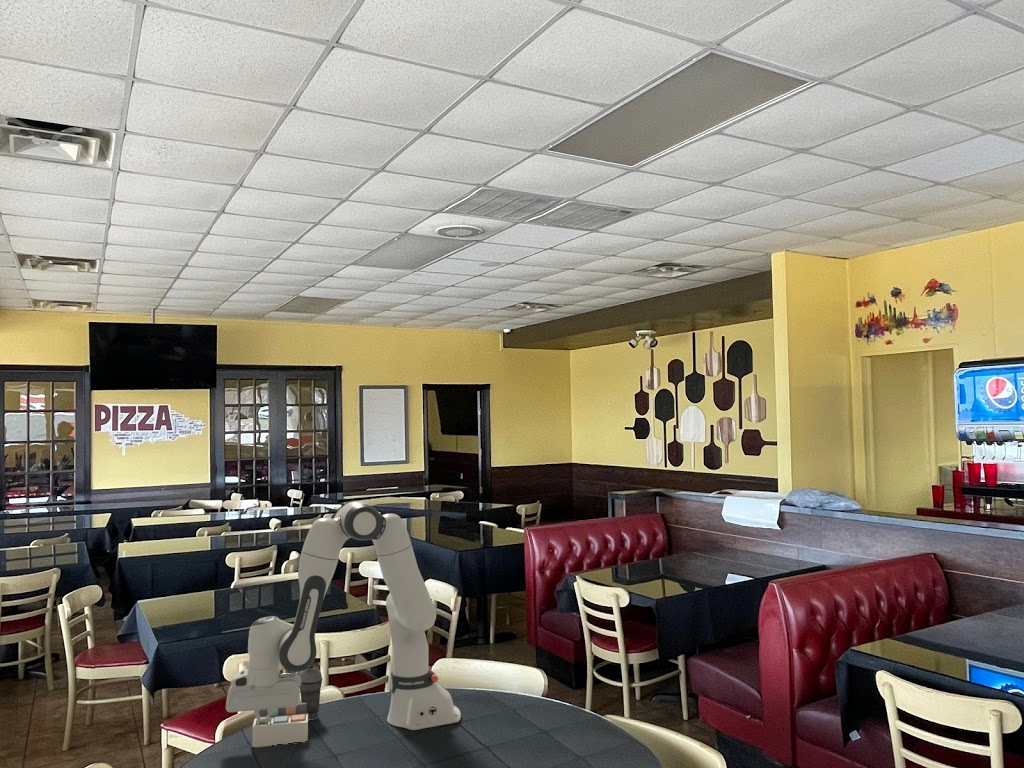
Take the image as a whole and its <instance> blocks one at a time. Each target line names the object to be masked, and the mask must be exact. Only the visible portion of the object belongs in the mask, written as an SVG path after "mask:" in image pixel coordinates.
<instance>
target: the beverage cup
mask: <svg viewBox="0 0 1024 768" xmlns="http://www.w3.org/2000/svg"><path fill="white" fill-rule="evenodd" d="M299 675H300V677H301V686H300V687H299V692H300V703H307V706H306V714H308V720H309V719H315V718H317V717H318V716H319V711H320V710H319V709H320V700H321V699H320V698H321V688H322V683H323V675H322V672H321V670H320V669H319V668H318V667H316V666H314V665H313V666H312V665H311V666H310V667H309V668H307V669H305V670H303V671H300V674H299ZM318 718H319V717H318ZM318 718H317V719H318Z"/></svg>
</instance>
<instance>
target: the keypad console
mask: <svg viewBox="0 0 1024 768" xmlns="http://www.w3.org/2000/svg"><path fill="white" fill-rule="evenodd" d="M306 706H307V703H301V702H300V703H299V704H298V705H297V706H296V707H285V708H274V709H273V711H272V714H271V715H270V717H269V722H270V724H267V725H257V723H258V720H257V718H256V717H255V718H254V720H253V724H252V738H251V739H252V742H251V743H252V747H255V748H263V747H271V746H272V745H274V746H278V745H277V744H283V745H289V744H288V743H293V742H302V743H306V742H305V741H308V738H309V737H308V736H309V721H308V714H306ZM267 714H268V713H267V709H263V710H260V711H259V715H260V717H266V716H267ZM301 714H305V721H297V722H292V715H301ZM280 716H288V722H287V723H277V724H274V719H275V717H280ZM293 744H294V743H293Z"/></svg>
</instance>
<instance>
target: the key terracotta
mask: <svg viewBox="0 0 1024 768" xmlns="http://www.w3.org/2000/svg"><path fill="white" fill-rule="evenodd" d="M297 721H305V714H301V715H292V722H297Z"/></svg>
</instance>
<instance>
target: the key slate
mask: <svg viewBox="0 0 1024 768" xmlns="http://www.w3.org/2000/svg"><path fill="white" fill-rule="evenodd" d="M287 722H288V716H280V717H275V719H274V724H277V723H287Z"/></svg>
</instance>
